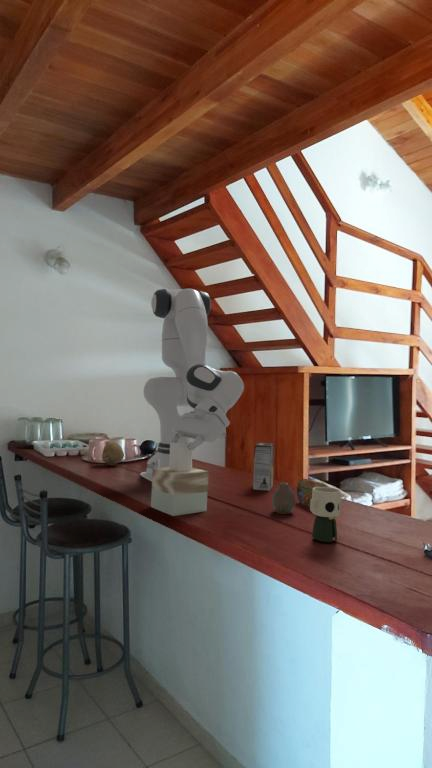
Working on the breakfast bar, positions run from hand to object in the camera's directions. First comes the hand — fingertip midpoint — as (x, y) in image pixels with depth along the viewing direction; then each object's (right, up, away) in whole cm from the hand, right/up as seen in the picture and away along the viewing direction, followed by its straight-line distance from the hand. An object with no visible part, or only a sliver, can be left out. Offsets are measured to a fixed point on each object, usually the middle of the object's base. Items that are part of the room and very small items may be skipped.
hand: (180, 446), depth 167 cm
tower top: (0, -13, 0) cm, 13 cm away
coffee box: (+28, -19, +36) cm, 49 cm away
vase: (+31, -20, +1) cm, 37 cm away
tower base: (-1, -19, 0) cm, 19 cm away
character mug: (+38, -21, -27) cm, 51 cm away
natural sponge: (-33, -16, +70) cm, 79 cm away
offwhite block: (0, -7, 0) cm, 7 cm away
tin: (+41, -20, +10) cm, 47 cm away
